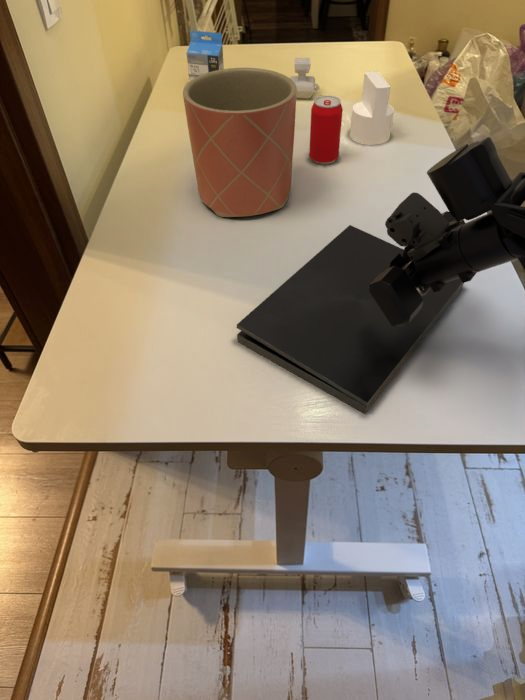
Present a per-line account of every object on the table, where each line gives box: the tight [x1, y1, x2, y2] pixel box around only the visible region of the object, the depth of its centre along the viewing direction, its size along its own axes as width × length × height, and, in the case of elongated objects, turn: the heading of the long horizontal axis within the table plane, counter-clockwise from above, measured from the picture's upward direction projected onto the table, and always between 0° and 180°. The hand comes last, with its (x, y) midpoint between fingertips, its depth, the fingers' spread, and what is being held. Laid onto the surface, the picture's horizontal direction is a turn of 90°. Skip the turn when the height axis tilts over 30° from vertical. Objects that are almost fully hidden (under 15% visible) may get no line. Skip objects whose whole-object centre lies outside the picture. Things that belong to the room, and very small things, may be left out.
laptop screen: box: [236, 224, 464, 406], centre depth 76 cm, size 21×30×1 cm
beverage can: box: [308, 95, 344, 165], centre depth 106 cm, size 6×6×12 cm
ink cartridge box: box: [186, 30, 225, 82], centre depth 134 cm, size 9×4×12 cm, turn 73°
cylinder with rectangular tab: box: [349, 71, 395, 146], centre depth 113 cm, size 9×9×12 cm
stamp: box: [289, 57, 320, 99], centre depth 130 cm, size 9×7×8 cm
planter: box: [182, 67, 297, 218], centre depth 94 cm, size 19×19×20 cm
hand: (375, 284), depth 71 cm, fingers closed
